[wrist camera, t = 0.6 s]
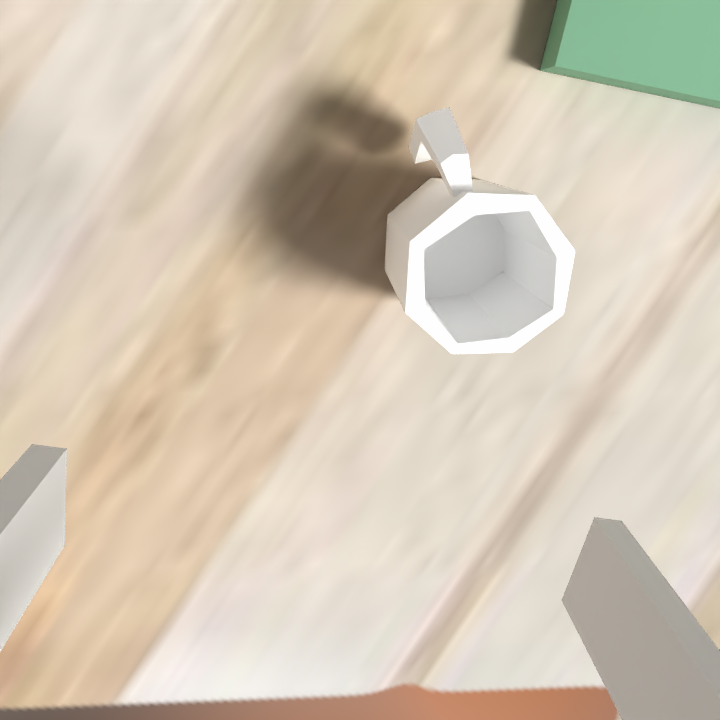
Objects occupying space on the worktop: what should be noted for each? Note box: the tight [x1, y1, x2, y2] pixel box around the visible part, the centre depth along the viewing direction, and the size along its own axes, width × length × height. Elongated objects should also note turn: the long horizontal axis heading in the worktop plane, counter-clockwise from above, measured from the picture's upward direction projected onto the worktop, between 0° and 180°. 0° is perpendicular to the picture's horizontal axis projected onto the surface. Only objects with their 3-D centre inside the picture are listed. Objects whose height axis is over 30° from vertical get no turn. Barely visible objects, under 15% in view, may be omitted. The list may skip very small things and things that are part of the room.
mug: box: [385, 107, 575, 354], centre depth 33 cm, size 12×9×10 cm
